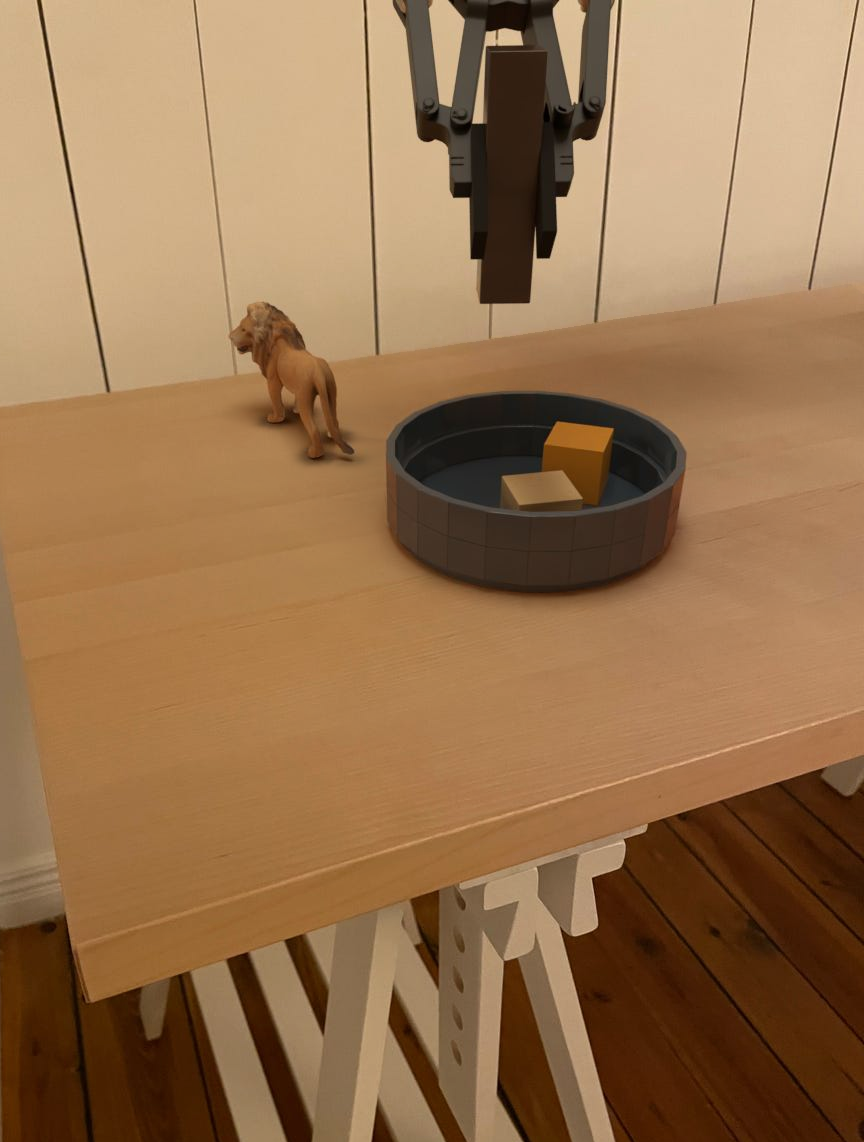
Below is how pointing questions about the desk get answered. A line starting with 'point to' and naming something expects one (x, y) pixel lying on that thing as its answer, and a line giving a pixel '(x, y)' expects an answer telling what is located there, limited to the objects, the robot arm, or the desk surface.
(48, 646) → the desk surface
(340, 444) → the lion figurine
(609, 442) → the block mustard
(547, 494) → the block maple
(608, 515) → the bowl
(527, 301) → the dark brown bar
